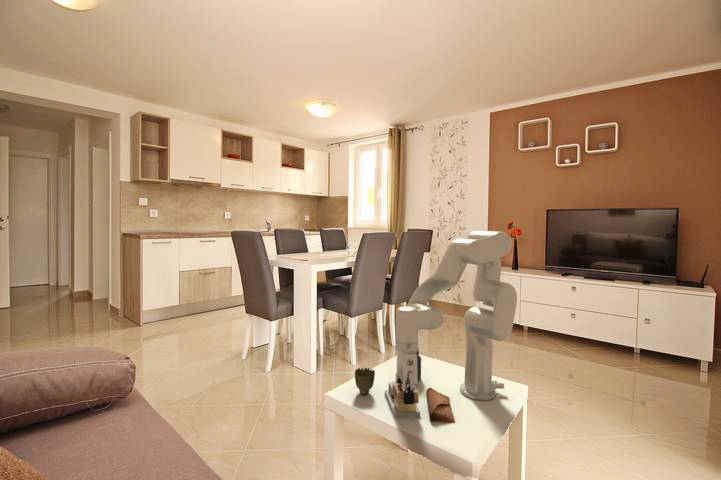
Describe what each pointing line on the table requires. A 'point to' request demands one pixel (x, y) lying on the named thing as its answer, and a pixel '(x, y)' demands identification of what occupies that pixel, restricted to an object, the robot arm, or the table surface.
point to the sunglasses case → (439, 407)
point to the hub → (402, 406)
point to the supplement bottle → (418, 365)
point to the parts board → (394, 410)
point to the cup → (364, 380)
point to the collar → (402, 393)
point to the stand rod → (392, 386)
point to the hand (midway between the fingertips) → (405, 396)
